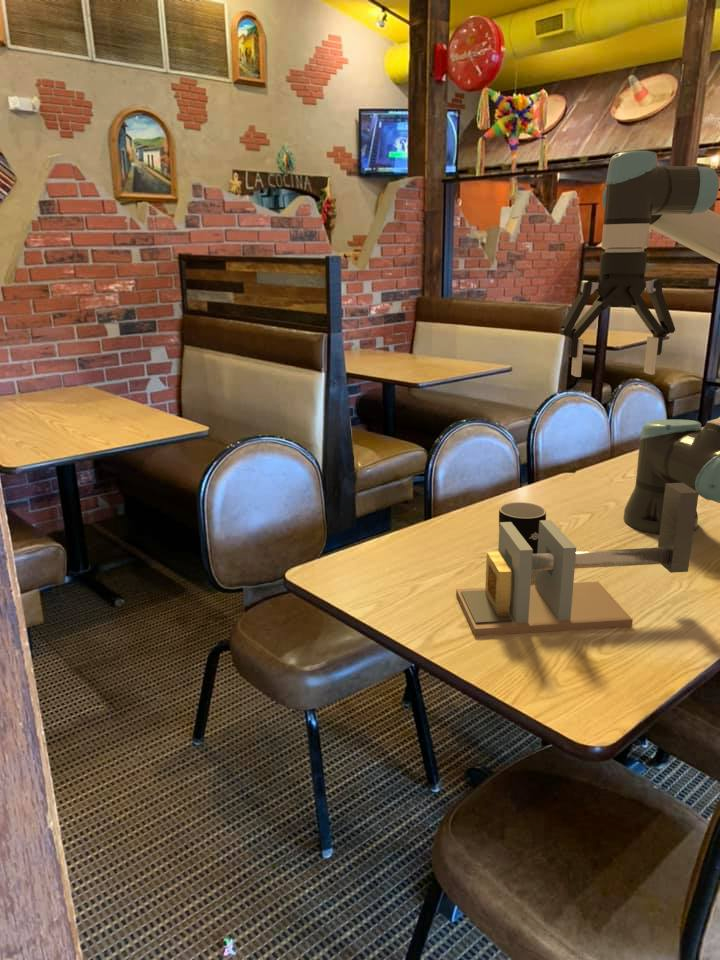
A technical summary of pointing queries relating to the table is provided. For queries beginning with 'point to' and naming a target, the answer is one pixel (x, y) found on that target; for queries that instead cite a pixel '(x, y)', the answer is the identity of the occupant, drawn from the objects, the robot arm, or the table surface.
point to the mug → (524, 520)
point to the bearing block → (542, 591)
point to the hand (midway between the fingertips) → (612, 374)
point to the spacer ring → (498, 583)
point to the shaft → (668, 554)
